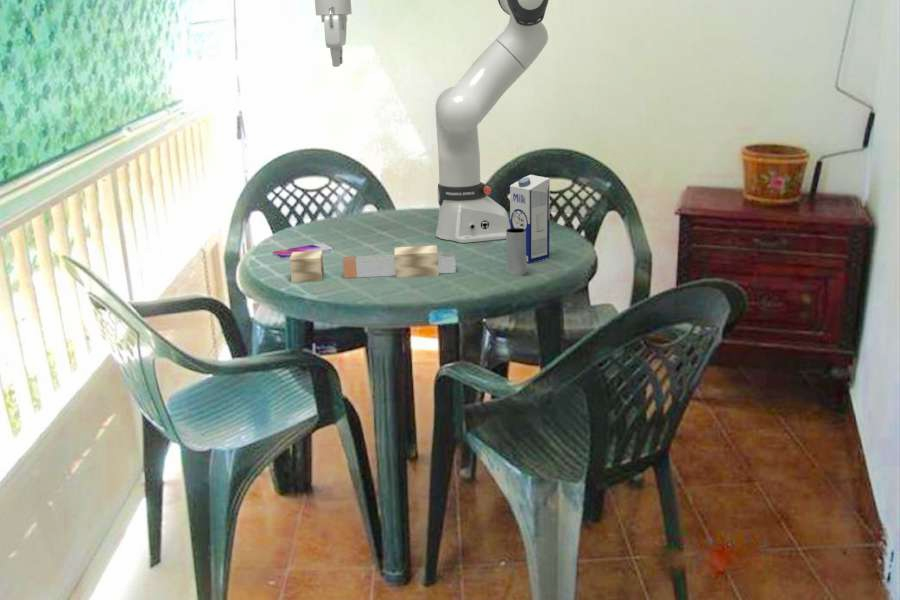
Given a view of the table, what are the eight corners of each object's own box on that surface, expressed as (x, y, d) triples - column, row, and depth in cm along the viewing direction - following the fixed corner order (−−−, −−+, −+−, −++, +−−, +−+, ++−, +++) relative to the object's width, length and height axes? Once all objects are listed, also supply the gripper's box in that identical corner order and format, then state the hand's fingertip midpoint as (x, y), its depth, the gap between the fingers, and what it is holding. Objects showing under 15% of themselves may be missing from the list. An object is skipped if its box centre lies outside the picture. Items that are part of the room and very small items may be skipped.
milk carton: (549, 258, 206) (550, 177, 200) (529, 263, 202) (529, 181, 196) (530, 252, 211) (530, 173, 205) (510, 257, 208) (509, 177, 201)
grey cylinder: (520, 277, 192) (520, 233, 189) (503, 274, 195) (502, 231, 191) (529, 271, 196) (529, 228, 193) (512, 269, 198) (511, 226, 195)
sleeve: (437, 268, 201) (436, 245, 199) (438, 275, 195) (437, 252, 193) (395, 270, 201) (394, 247, 199) (395, 277, 195) (394, 254, 193)
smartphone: (335, 248, 220) (281, 258, 212) (335, 251, 220) (281, 261, 213) (324, 242, 226) (271, 251, 218) (324, 245, 226) (271, 254, 218)
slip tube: (454, 267, 200) (454, 251, 199) (455, 272, 196) (455, 256, 195) (345, 273, 199) (343, 256, 198) (344, 278, 195) (342, 261, 194)
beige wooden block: (324, 273, 200) (322, 250, 198) (322, 281, 194) (320, 258, 192) (294, 274, 200) (292, 252, 198) (291, 283, 193) (289, 259, 192)
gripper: (343, 6, 198) (347, 67, 203) (348, 7, 218) (352, 62, 222) (316, 7, 198) (321, 68, 202) (324, 8, 217) (328, 63, 222)
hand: (337, 65), depth 212 cm, fingers open, 8 cm apart
